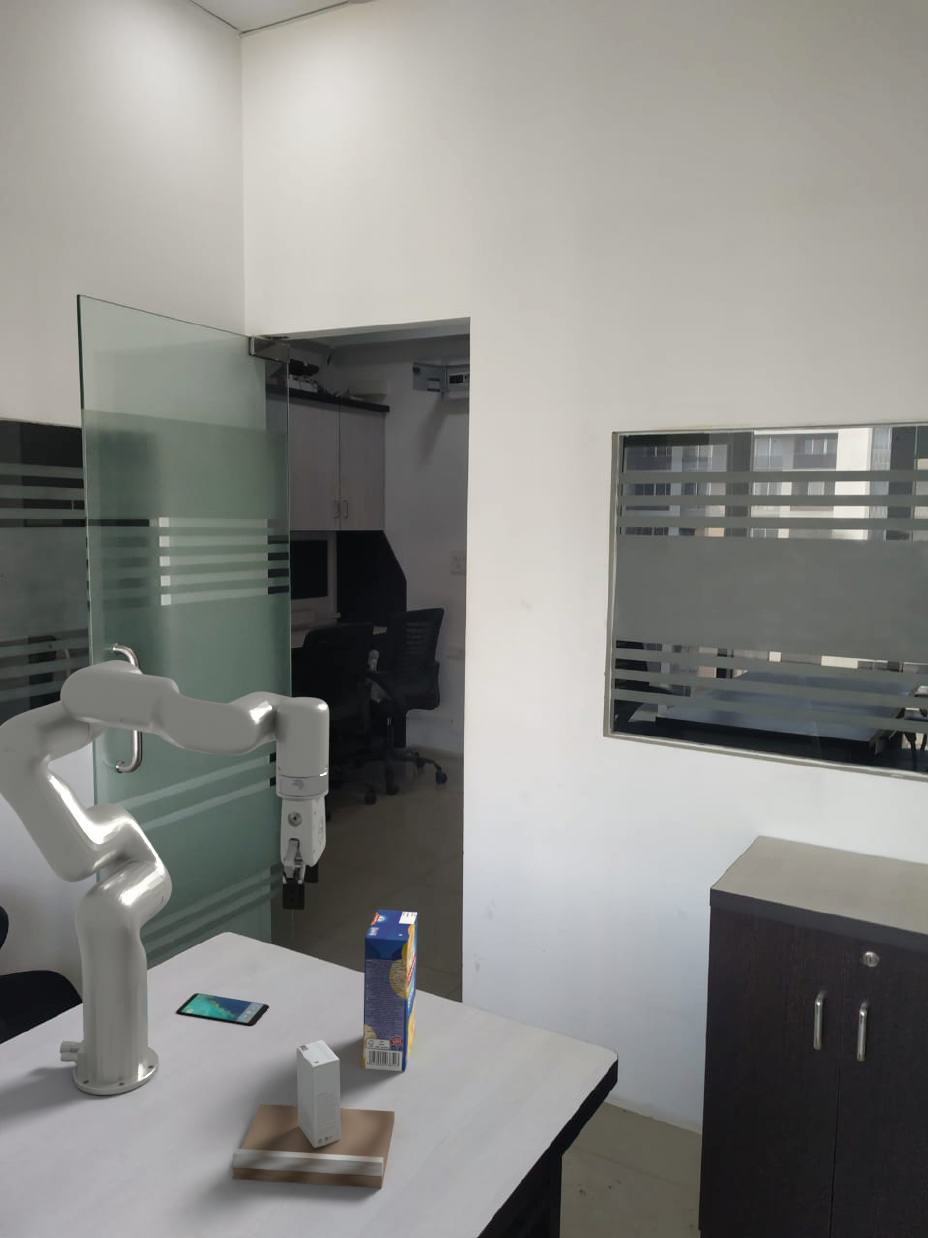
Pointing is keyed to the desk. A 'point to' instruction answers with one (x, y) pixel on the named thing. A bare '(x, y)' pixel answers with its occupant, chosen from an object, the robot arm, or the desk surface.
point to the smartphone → (223, 1009)
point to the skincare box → (318, 1093)
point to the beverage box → (389, 990)
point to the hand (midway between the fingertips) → (301, 895)
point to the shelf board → (315, 1149)
